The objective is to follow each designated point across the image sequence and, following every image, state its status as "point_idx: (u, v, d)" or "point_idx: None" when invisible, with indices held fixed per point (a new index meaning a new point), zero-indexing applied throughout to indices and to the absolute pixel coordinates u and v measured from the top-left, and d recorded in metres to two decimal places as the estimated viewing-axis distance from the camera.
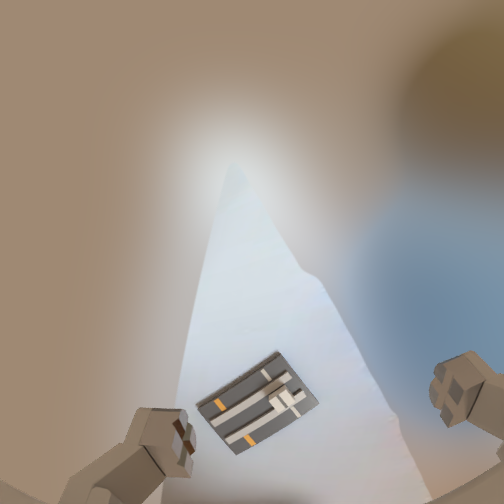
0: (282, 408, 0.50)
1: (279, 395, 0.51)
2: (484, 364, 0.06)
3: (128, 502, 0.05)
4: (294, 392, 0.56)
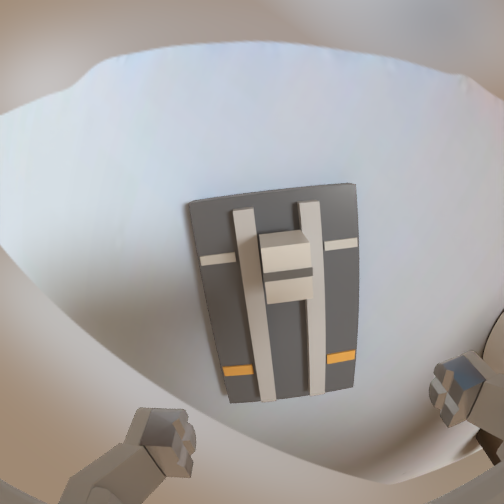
0: (307, 283, 0.20)
1: (267, 272, 0.19)
2: (484, 364, 0.06)
3: (128, 502, 0.05)
4: (294, 221, 0.24)
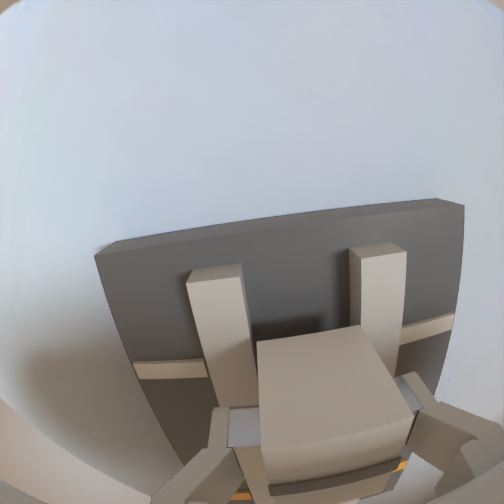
0: (379, 478, 0.05)
1: (281, 483, 0.05)
2: (425, 389, 0.06)
3: None
4: (340, 293, 0.10)
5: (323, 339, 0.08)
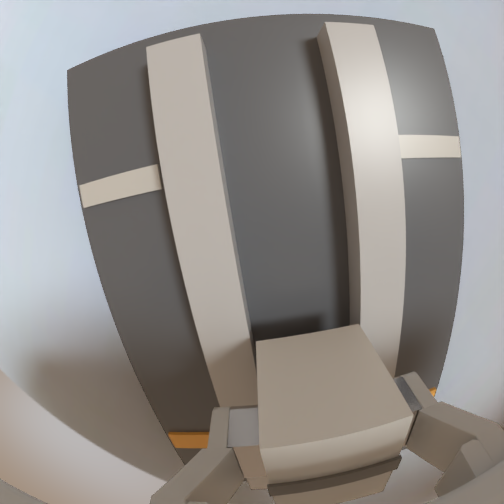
0: (379, 478, 0.05)
1: (280, 483, 0.05)
2: (425, 389, 0.06)
3: None
4: (315, 79, 0.08)
5: (322, 338, 0.08)
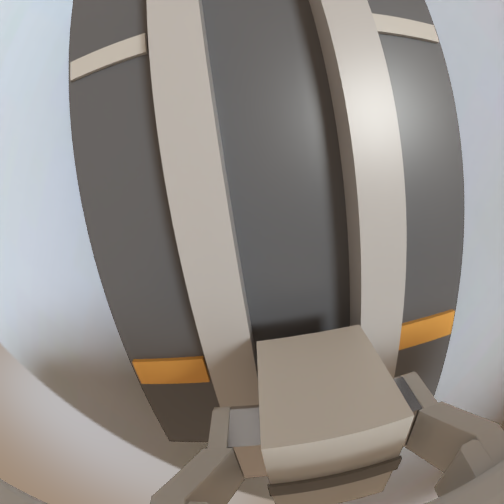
0: (379, 478, 0.05)
1: (281, 483, 0.05)
2: (425, 389, 0.06)
3: None
4: None
5: (323, 339, 0.08)
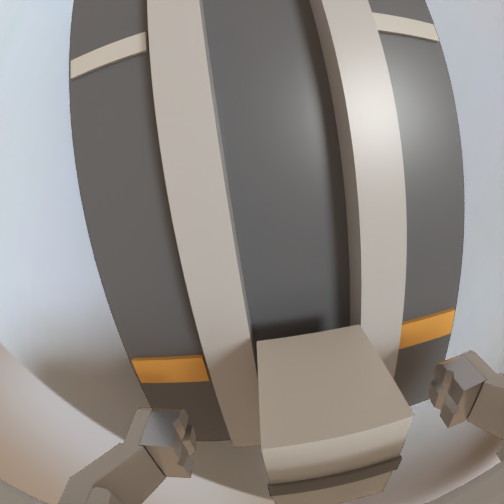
0: (379, 478, 0.05)
1: (281, 483, 0.05)
2: (484, 364, 0.06)
3: (128, 502, 0.05)
4: None
5: (323, 339, 0.08)
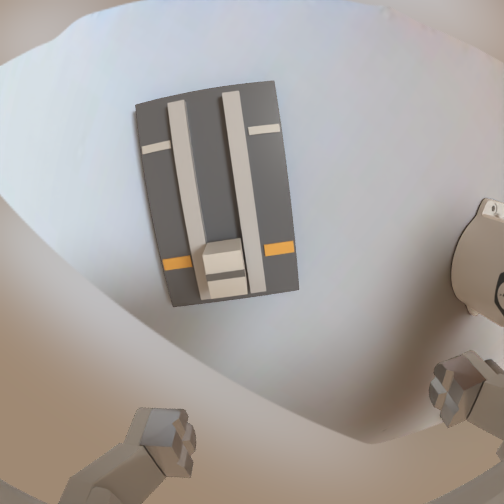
0: (242, 282, 0.25)
1: (209, 273, 0.24)
2: (484, 364, 0.06)
3: (128, 502, 0.05)
4: (220, 111, 0.26)
5: (227, 240, 0.27)
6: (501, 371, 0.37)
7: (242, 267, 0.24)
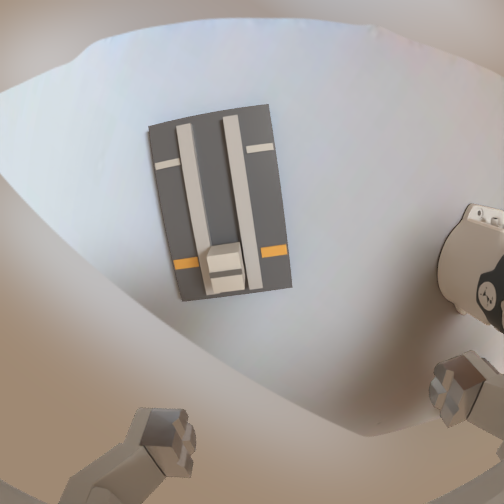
0: (239, 279, 0.30)
1: (212, 272, 0.29)
2: (484, 364, 0.06)
3: (128, 502, 0.05)
4: (222, 132, 0.31)
5: (228, 244, 0.32)
6: (493, 369, 0.39)
7: (239, 266, 0.29)
